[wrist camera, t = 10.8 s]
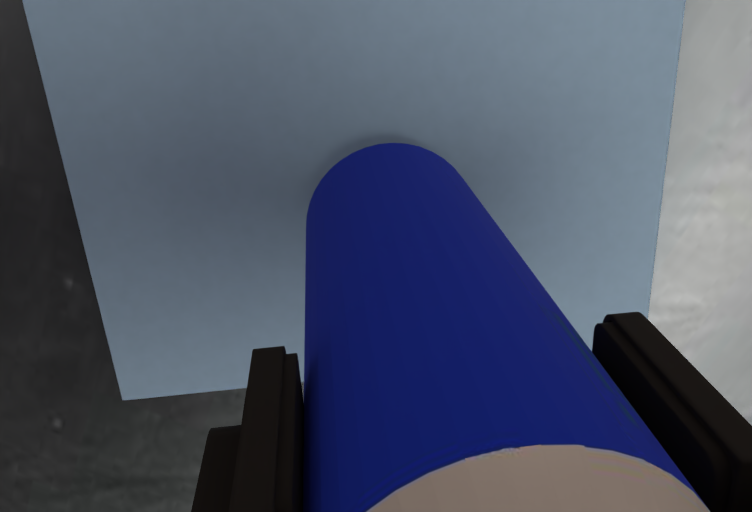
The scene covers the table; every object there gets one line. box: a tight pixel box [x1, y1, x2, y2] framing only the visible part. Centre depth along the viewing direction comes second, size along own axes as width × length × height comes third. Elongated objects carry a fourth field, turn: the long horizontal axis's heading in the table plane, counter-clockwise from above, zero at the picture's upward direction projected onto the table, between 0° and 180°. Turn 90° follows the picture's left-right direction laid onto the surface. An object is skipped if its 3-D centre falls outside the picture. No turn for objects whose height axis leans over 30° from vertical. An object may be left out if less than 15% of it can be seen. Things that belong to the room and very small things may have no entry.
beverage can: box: [303, 143, 710, 512], centre depth 14 cm, size 5×5×15 cm
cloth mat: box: [22, 0, 686, 400], centre depth 23 cm, size 20×14×1 cm
